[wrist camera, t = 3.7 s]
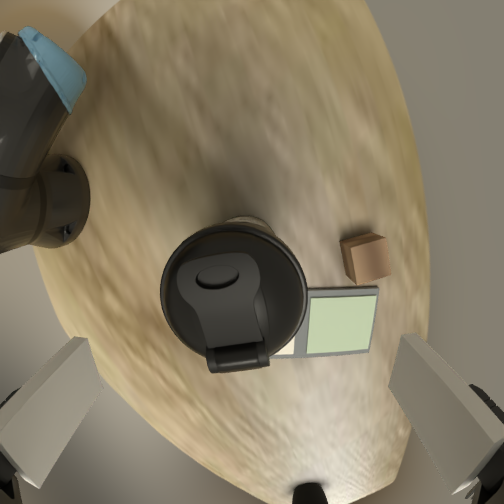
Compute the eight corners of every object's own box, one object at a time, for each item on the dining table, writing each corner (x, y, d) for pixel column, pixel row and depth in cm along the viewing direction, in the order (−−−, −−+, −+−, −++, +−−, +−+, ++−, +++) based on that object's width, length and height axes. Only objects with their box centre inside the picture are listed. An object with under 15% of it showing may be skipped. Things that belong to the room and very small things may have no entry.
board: (224, 355, 41) (223, 359, 40) (220, 289, 39) (219, 292, 38) (367, 350, 41) (369, 353, 40) (377, 286, 39) (380, 289, 37)
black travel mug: (275, 202, 37) (304, 214, 14) (288, 276, 39) (324, 377, 16) (200, 217, 37) (121, 251, 15) (216, 289, 39) (172, 396, 17)
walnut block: (345, 274, 38) (357, 285, 34) (339, 241, 38) (350, 247, 33) (376, 265, 38) (391, 274, 33) (371, 232, 37) (385, 237, 32)
